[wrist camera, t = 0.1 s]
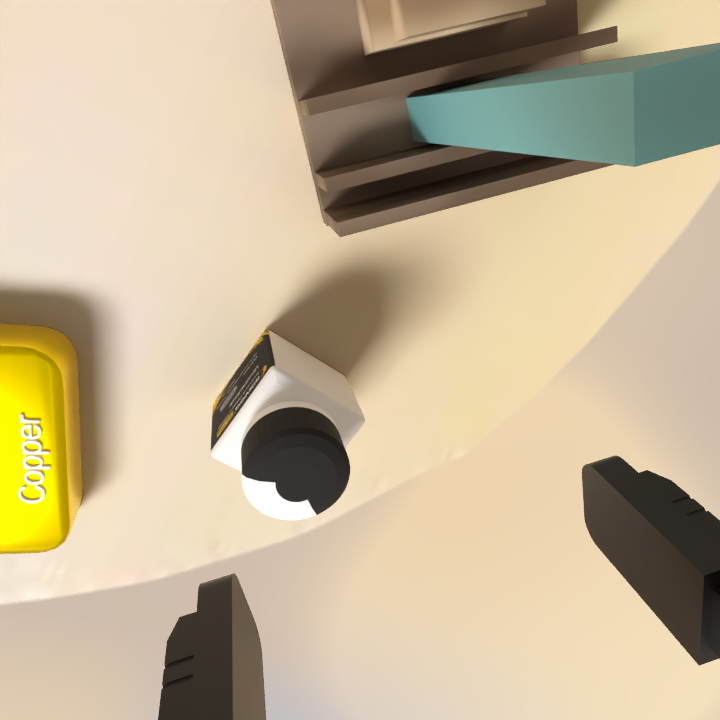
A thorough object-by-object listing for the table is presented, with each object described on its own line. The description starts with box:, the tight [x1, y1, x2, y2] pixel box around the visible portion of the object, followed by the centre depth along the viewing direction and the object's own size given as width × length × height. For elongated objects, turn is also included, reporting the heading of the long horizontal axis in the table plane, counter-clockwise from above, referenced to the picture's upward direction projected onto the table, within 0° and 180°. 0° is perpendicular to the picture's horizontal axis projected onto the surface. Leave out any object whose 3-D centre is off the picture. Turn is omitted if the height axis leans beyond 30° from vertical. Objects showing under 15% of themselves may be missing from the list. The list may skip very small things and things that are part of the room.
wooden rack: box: [271, 0, 618, 237], centre depth 34 cm, size 16×18×6 cm
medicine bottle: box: [211, 330, 365, 520], centre depth 37 cm, size 7×7×12 cm
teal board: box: [406, 43, 720, 167], centre depth 26 cm, size 2×5×22 cm, turn 103°
